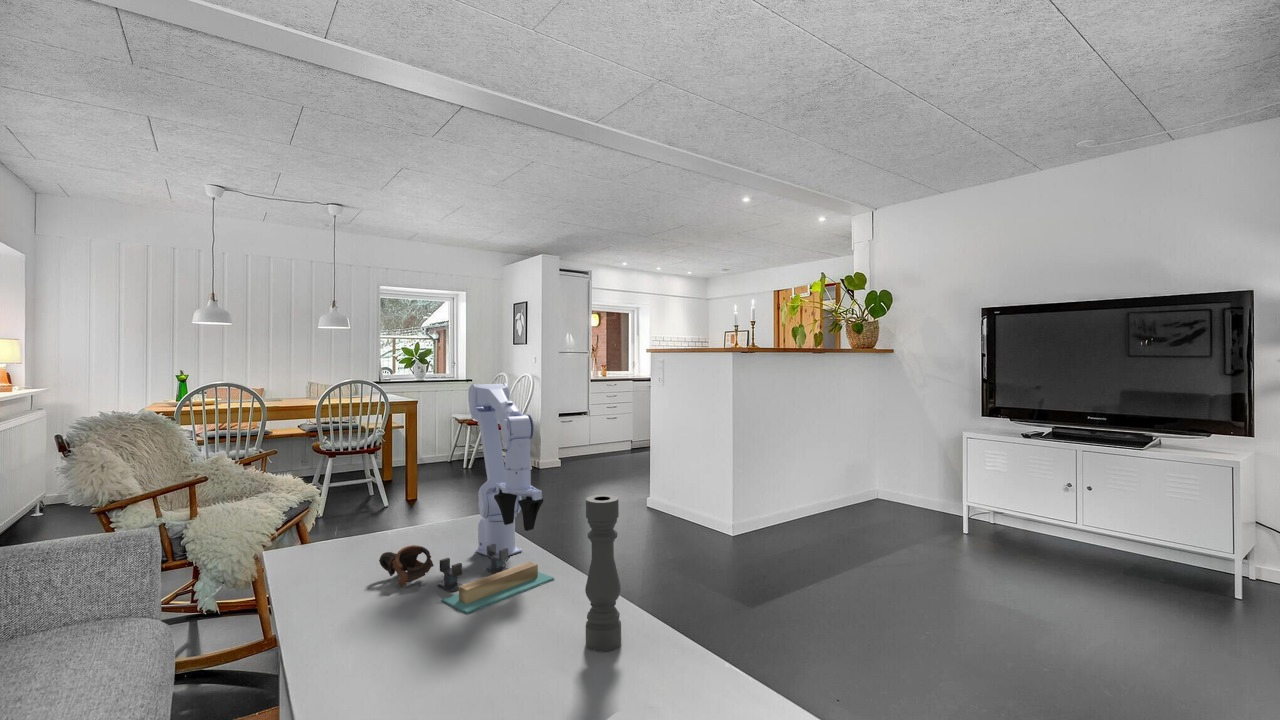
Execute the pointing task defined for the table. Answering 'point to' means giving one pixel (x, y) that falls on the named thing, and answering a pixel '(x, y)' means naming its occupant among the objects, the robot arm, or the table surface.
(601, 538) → the candle holder
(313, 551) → the table surface
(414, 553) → the pottery mug
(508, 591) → the teal mat
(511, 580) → the oak bar
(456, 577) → the hook standards
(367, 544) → the table surface
